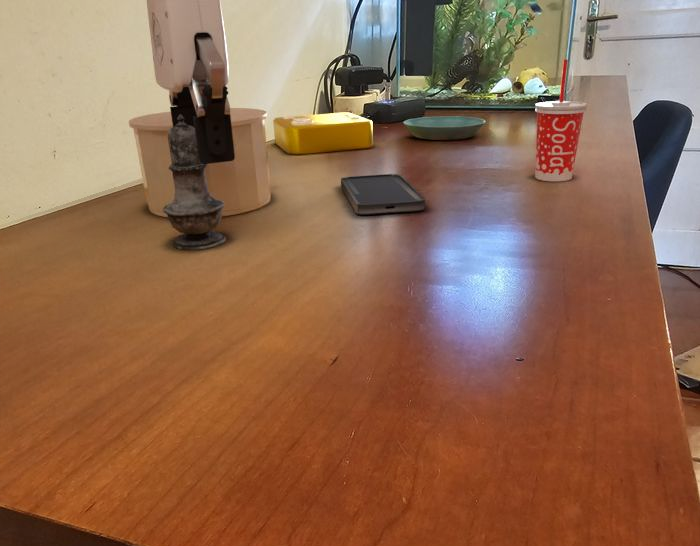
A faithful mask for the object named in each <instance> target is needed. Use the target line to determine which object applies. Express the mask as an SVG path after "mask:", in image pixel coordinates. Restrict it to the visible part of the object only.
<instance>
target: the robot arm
mask: <svg viewBox="0 0 700 546" xmlns="http://www.w3.org/2000/svg"><path fill="white" fill-rule="evenodd" d="M146 9H147V17H148V27H149V35H150V36H149V37H150V43H151V44H150V45H151V52H152V60H153V70H154V79H155V82H156V84H157V85H158V86H159V87H160V88H162V89H164V90H166V91H168V97H169V104H170V107H169V109H170V112H171V117H172V124H173V127H175V126H176V124H179V121H178V120H177V119H178V116H179V114H181V116H183V118H185V119H184V123H186V124H187V125H190V126H192V127H194V128H195V134H196V142H197V149H198V157H199V161H200V162H201V163H202V164H210V163H219V162H228V161H233V160H234V159H235V153H234V143H233V134H232V125H231V116H230V108H231V106H230V105H231V104H230V102H229V99H228V95H229V90H228V87H227V85H228V83H229V78H230V77H229V74H230V73H229V72H230V71H229V57H228V49H227V39H226V31H225V23H224V17H223V10H222V3H221V0H146ZM200 93H203V100H202V97H201V94H200Z"/></svg>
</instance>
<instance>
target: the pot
mask: <svg viewBox="0 0 700 546" xmlns="http://www.w3.org/2000/svg"><path fill="white" fill-rule="evenodd" d="M265 125H266V124H265V119H264V120H262V121H258V122H255V123H250V124H245V125H238V126H232V134H233V143H234V153H235V159H234V160H233V161H228V162H219V163H210V164H207V166H206V167H205V168H204V169H205V176H206V183H207V187H208V190H209V193H210V195H211V197H213V198H214V199H218V200H221V201H223V202H224V207H223V208H222V217H229V216H234V215H239V214H243V213H248V212H251V211H254V210H257V209H260V208H262V207H264V206H266V205H268V204H269V203H270V202H271V200H272V199H271V198H272V197H271V193H272V188H271V180H270V179H271V178H270V167H269V156H268V146H267V137H266V126H265ZM132 129H133V133H134V140H135V146H136V150H137V156H138V162H139V166H140V173H141V178H142V183H143V189H144V194H145V200H146V205H147V206H148V210H149V212H150V213H152V214H154V215H156V216H159V217H165V218H168V217H167V214H166V213H164V211H163V208H164V207H165V206H166V205H168V204H170V203H172V202H173V200H174V197H175V186H174V179H173V173H172V171H171V170H169V169H168V167H169V166H170V165H171V164H172V162H171V155H170V149H169V143H168V132H169V131H151V130H139V129H134V128H132Z"/></svg>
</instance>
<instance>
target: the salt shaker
mask: <svg viewBox="0 0 700 546" xmlns="http://www.w3.org/2000/svg"><path fill="white" fill-rule="evenodd" d="M184 119H185V118H183V116H181V114H179V116H178V119H177V120H178V121H179V124H176V126H175V127H172V128H171V129H170V130H169V132H168V143H169V149H170V155H171V162H172V164H171V165H170V166H169V167H168V169H169V170H171V171H172V173H173V179H174V186H175V197H174V200H173V202H172V203H170V204H168V205H166V206H165V207H164V208H163V211H164V213H166V214H167V217H166V218H167V220H168V222H169V224H170V226H171V228H173V229H174V230H175V231H177V232H178V233H180V235H178V236H177V237H176V238H175V239H173V240H172V242H171V246H172V247H173V248H175V249H178V250H183V251H196V250H207V249H211V248H215V247H218V246H220V245H222V244H224V243H225V242H226V241H227V237H226V236H225V235H224V234H222V233H220V232H218V231H215V229H217V227H218V226H219V225H220V223H221V221H222V217H223V216H222V208H223V207H224V202H223V201H221V200H218V199H214V198H213V197H211V195H210V193H209V190H208V187H207V183H206V176H205V169H204V168H205V167H206V166H207V164H202V163H201V162H200V161H199V157H198V149H197V142H196V134H195V128H194V127H192V126H190V125H187V124H186V123H184Z"/></svg>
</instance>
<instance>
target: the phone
mask: <svg viewBox="0 0 700 546" xmlns="http://www.w3.org/2000/svg"><path fill="white" fill-rule="evenodd" d="M340 188H341V190H342V192H343V194H344V195H345V197H346V199H347V200H348V202H349V204H350V205H351V207H352V209H353V211H354V212H355V214H357V215H362V216H370V215H371V216H372V215H382V214H383V215H384V214H397V213H409V212H421V211H424V210H425V209H426V198H425V197H424V195H422V194H421V193H420V191H418V190H417V189H416V188H415V187H414V186H413V185H412V184H411V183H410V182H409V181H407V180H406V178H404V177H403V176H402V175H401V174H398V173H385V174H384V173H383V174H370V175H356V176H355V175H354V176H344V177H341V178H340Z"/></svg>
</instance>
